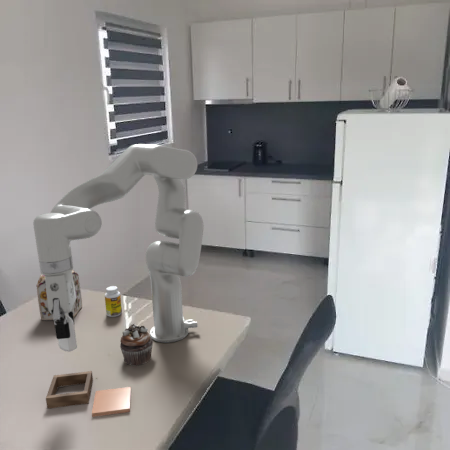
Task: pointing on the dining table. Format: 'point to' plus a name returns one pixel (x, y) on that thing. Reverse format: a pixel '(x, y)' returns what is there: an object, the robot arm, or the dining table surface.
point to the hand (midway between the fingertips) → (65, 331)
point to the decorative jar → (44, 303)
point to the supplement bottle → (113, 301)
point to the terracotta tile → (111, 401)
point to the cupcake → (136, 345)
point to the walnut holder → (69, 398)
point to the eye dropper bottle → (68, 343)
